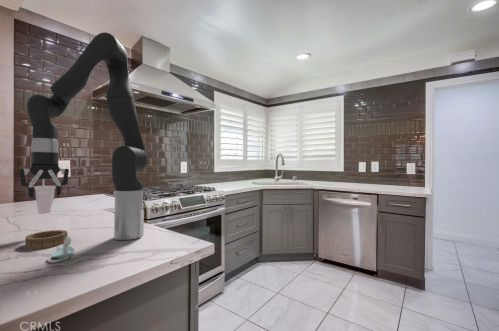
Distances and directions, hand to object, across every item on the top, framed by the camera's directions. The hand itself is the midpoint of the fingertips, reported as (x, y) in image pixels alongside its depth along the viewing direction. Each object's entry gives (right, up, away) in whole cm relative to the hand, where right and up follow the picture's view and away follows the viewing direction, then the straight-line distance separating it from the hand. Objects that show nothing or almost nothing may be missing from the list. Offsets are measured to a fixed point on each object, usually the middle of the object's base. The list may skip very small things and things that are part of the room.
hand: (45, 197), depth 87 cm
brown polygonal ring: (+8, -14, -8) cm, 18 cm away
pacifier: (+22, -15, -20) cm, 34 cm away
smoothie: (0, -6, 0) cm, 6 cm away
